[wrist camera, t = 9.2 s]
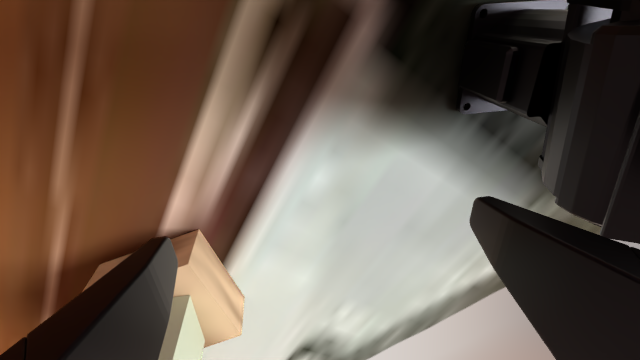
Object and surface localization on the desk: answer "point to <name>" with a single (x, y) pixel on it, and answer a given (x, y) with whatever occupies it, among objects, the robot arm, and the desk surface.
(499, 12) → the robot arm
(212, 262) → the oak block
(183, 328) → the cube
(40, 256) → the desk surface
